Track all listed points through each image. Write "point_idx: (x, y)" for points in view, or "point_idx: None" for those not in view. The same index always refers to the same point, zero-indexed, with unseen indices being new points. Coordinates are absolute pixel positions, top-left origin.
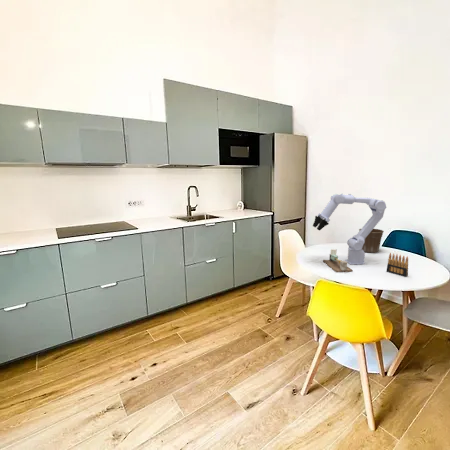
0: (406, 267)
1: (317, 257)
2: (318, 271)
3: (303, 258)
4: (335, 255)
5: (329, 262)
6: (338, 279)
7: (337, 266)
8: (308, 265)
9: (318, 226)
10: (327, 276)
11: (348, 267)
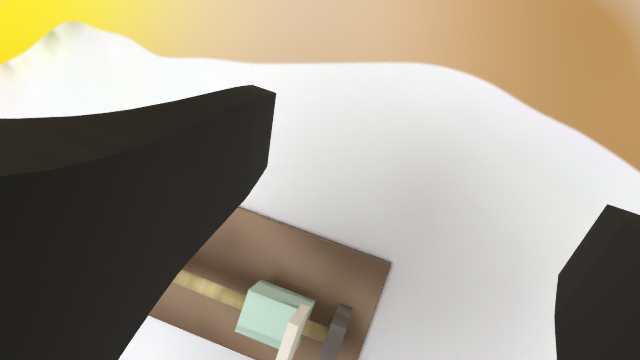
0: None
1: (516, 306)
2: (213, 60)
3: (554, 159)
4: (269, 333)
5: (312, 271)
6: (43, 88)
7: (206, 254)
8: (361, 75)
9: (198, 98)
10: (111, 55)
11: (154, 314)
